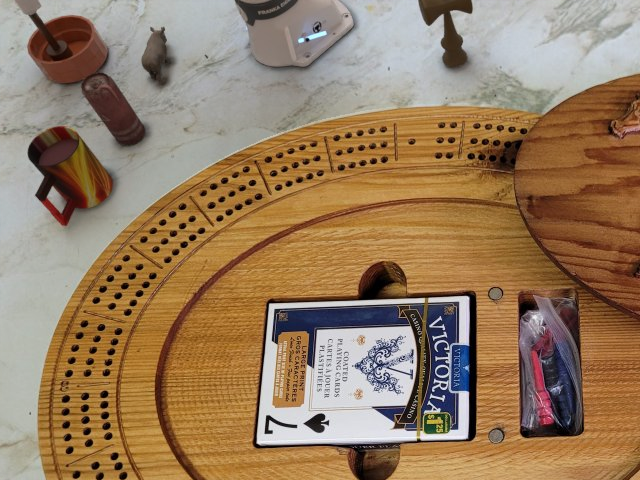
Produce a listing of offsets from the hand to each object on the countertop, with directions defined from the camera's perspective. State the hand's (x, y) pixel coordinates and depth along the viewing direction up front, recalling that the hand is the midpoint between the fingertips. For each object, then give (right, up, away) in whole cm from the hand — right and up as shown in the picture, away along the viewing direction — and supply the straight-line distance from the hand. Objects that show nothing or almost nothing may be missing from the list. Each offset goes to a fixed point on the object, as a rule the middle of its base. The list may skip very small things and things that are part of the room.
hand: (29, 8), depth 164 cm
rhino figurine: (+22, -7, +11) cm, 26 cm away
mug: (+14, -39, -4) cm, 42 cm away
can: (+20, -25, +2) cm, 32 cm away
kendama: (+85, -9, +4) cm, 85 cm away
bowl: (+3, -6, +13) cm, 14 cm away
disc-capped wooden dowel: (+1, -5, +11) cm, 12 cm away
